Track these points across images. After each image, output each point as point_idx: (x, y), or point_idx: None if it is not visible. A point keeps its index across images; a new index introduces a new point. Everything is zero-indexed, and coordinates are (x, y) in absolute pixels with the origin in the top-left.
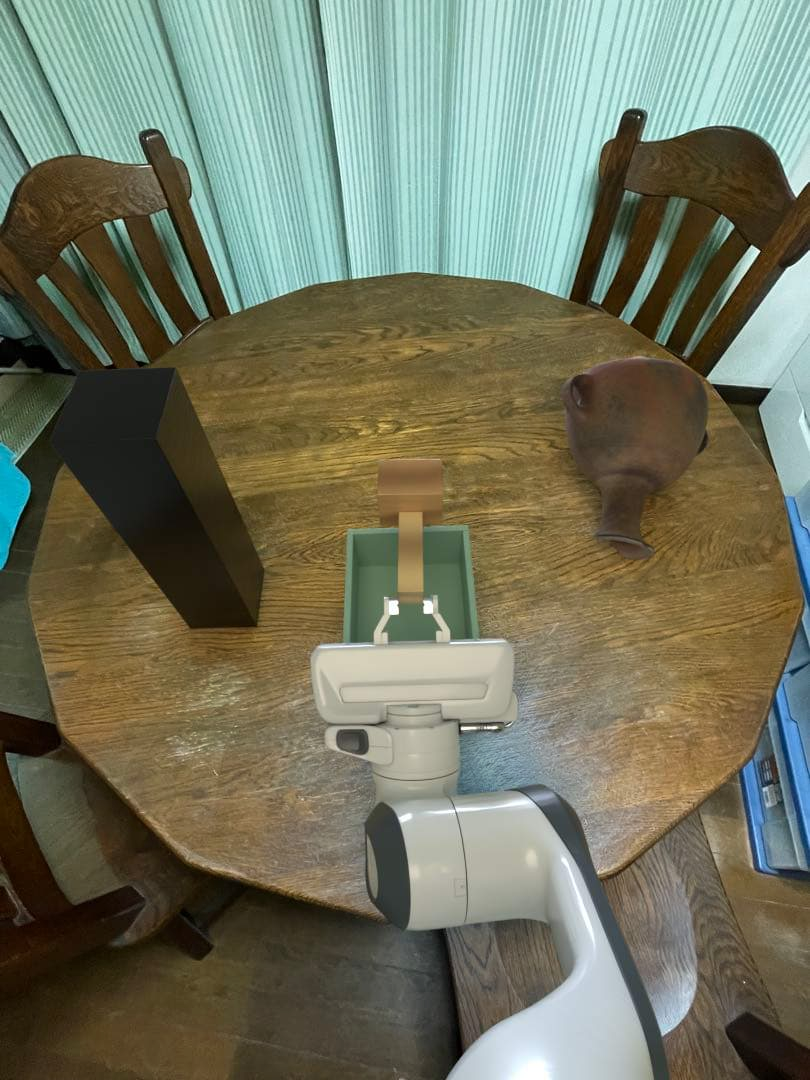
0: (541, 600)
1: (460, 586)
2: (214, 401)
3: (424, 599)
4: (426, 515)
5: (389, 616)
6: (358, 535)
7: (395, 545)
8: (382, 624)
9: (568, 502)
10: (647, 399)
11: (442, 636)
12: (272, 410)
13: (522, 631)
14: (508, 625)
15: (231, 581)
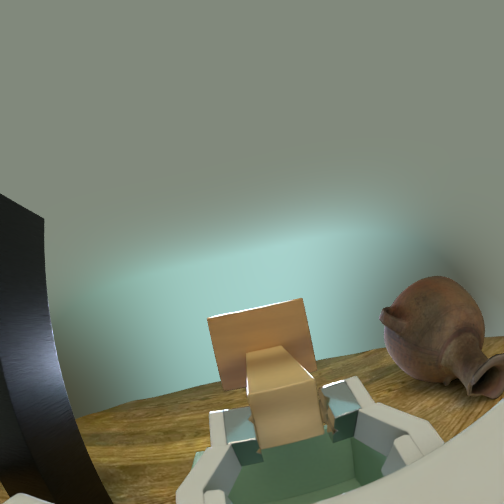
0: None
1: None
2: (123, 423)
3: (324, 388)
4: (289, 353)
5: (227, 447)
6: None
7: (265, 469)
8: (205, 469)
9: (427, 404)
10: (436, 286)
11: (417, 445)
12: (160, 425)
13: None
14: None
15: (33, 461)
